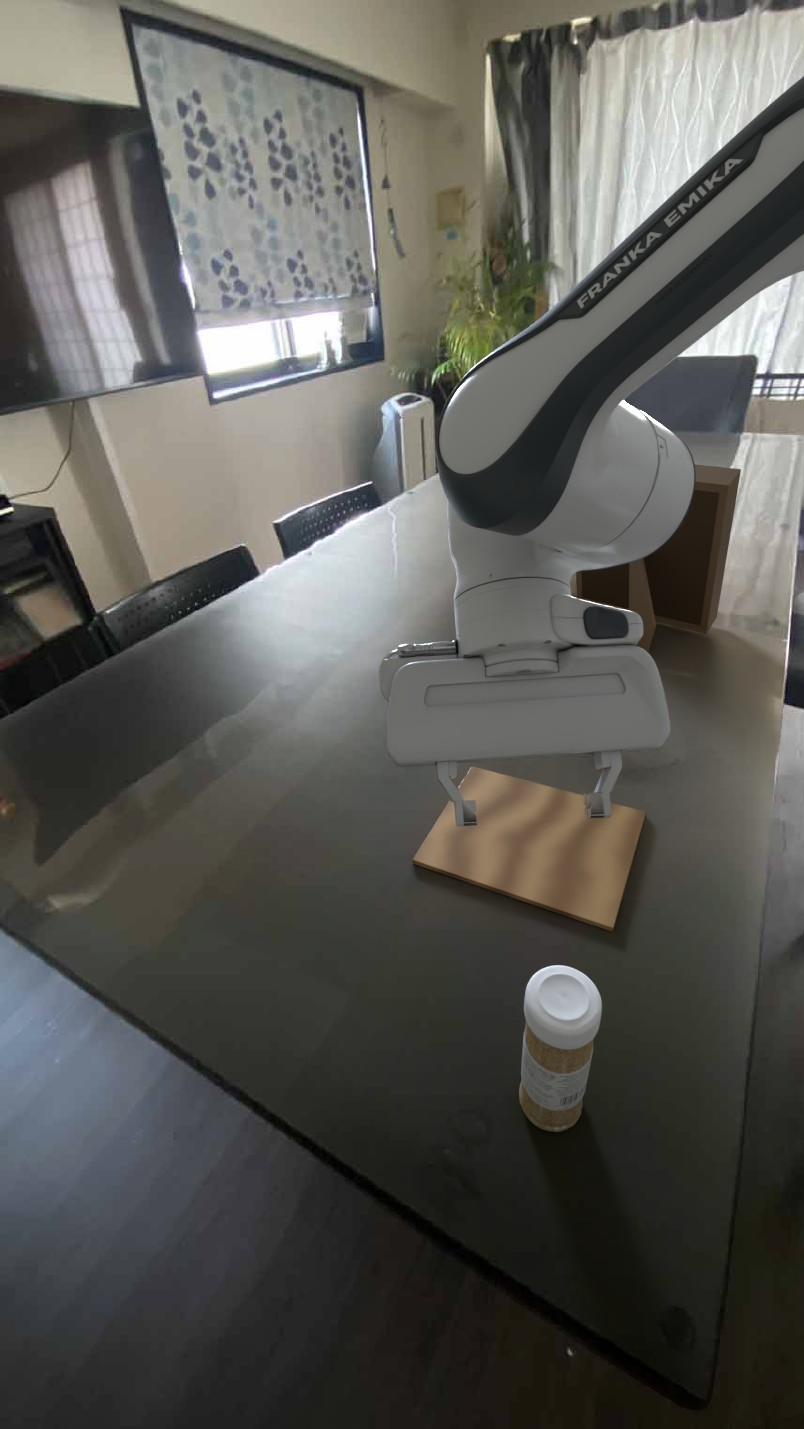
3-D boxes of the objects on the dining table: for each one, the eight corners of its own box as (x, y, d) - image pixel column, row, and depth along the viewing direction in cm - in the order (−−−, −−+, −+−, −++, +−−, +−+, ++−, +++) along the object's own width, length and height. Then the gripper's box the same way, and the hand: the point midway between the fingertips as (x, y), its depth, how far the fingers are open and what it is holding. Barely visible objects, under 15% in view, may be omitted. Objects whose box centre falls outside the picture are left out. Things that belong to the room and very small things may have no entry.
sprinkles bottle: (564, 1060, 48) (580, 954, 41) (594, 1124, 45) (618, 1020, 37) (507, 1078, 48) (513, 973, 40) (533, 1144, 44) (544, 1043, 36)
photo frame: (588, 593, 113) (603, 444, 99) (715, 623, 101) (753, 458, 87) (546, 626, 105) (557, 468, 90) (681, 663, 93) (717, 487, 78)
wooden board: (645, 815, 68) (646, 811, 68) (612, 932, 57) (613, 928, 57) (471, 769, 77) (471, 765, 76) (412, 863, 65) (412, 859, 65)
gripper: (374, 633, 45) (385, 831, 43) (664, 613, 45) (691, 812, 42) (380, 656, 52) (390, 830, 49) (635, 639, 51) (658, 814, 49)
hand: (532, 822), depth 46 cm, fingers open, 8 cm apart
